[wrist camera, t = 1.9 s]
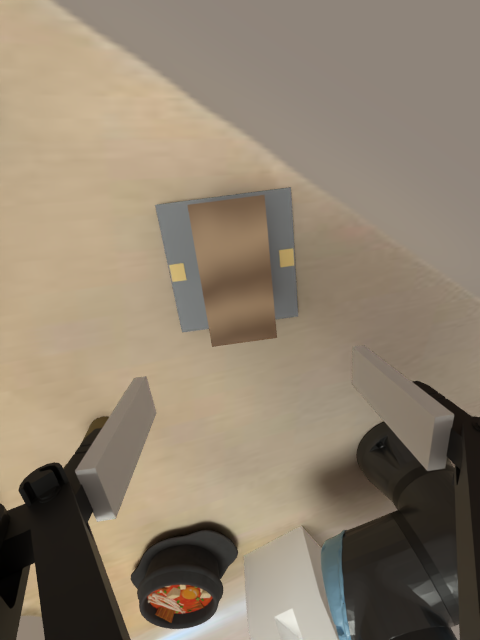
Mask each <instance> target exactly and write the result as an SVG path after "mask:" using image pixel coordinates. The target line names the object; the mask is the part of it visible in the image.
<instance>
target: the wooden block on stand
mask: <svg viewBox="0 0 480 640" xmlns="http://www.w3.org/2000/svg"><path fill="white" fill-rule="evenodd" d="M187 206H188V212H189V217H190V223H191V229H192V234H193V240H194V246H195V251H196V257H197V263H198V269H199V274H200V280H201V286H202V291H203V297H204V303H205V309H206V314H207V320H208V326H209V331H210V337H211V343H212V347H214V346H221V345H228V344H235V343H243V342H250V341H257V340H264V339H271V338H277V333H276V322H275V310H274V298H273V287H272V275H271V264H270V252H269V241H268V229H267V218H266V206H265V195H259V196H251V197H244V198H236V199H228V200H221V201H213V202H205V203H198V204H190V205H187Z"/></svg>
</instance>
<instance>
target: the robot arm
mask: <svg viewBox="0 0 480 640" xmlns="http://www.w3.org/2000/svg"><path fill="white" fill-rule="evenodd" d="M352 385H353V386H354V387H355V388H356V390H357V391H358V392H359V393H360V394H361V395H362V396H363V398H364V399H365V400H366V401H367V402H368V403H369V405H370V406H371V407H372V408H373V409H374V410H375V411H376V413H377V414H378V415H379V416H380V417H381V418H382V419H383V421H384V422H383V423H381V424H379V425H378V426H376V427H374V428H373V429H372V430H371V431H369V432H368V433H367V434H366V435H365V437H364V438H363V439H362V441H361V443H360V445H359V447H358V450H357V461H358V464H359V466H360V468H361V470H362V471H363V473H364V475H365V476H366V477H367V479H368V480H369V481H370V482H371V483H373V484H374V485H375V486H376V487H377V488H378V489H379V490H380V491H381V492H382V493H383V494H384V495H386V496H387V497H388V498H389V499H390V500H391V501H392V502H393V503H394V505H395V506H396V508H397V511H395V512H392V513H389V514H387V515H385V516H382V517H380V518H377V519H375V520H372V521H370V522H368V523H365V524H363V525H360V526H357V527H355V528H352V529H350V530H343V531H342V532H341V533H340V534H338V535H337V536H335V537H333V538H330V539H328V540H327V541H325V543H324V544H323V546H322V549H321V570H322V577H323V582H324V587H325V592H326V596H327V601H328V605H329V609H330V612H331V616H332V619H333V622H334V624H335V625H336V630H337V633H338V637H339V640H457V638H456V637H455V635H454V633H453V631H452V630H451V627H453V626H455V625H458V624H459V628H460V640H480V417H472V416H470V415H469V414H467V413H466V412H465V411H463V410H462V409H460V408H459V407H458V406H456V405H455V404H454V403H452V402H451V401H449V400H448V399H445V397H444V396H443V395H441V394H440V393H439V394H438V392H437V391H436V390H434V389H433V388H431V387H430V386H428V385H426V384H424V383H421V382H419V381H413V382H412V381H410V380H409V379H408V378H406V377H405V376H404V375H402V374H401V373H400V372H399V371H397V370H396V369H395V368H393V367H392V366H391V365H389V364H388V363H387V362H386V361H384V360H383V359H382V358H380V357H379V356H378V355H376V354H375V353H374V352H373V351H371V350H370V349H369V348H367V347H366V346H365V345H361V346H355V347H352ZM155 415H156V409H155V406H154V402H153V399H152V395H151V391H150V388H149V384H148V381H147V377H146V376H145V377H138V378H134V379H133V381H132V382H131V384H130V385H129V387H128V388H127V390H126V392H125V393H124V395H123V396H122V398H121V399H120V401H119V403H118V404H117V406H116V407H115V409H114V410H113V412H112V414H111V415H110V417H109V418H108V420H107V421H106V423H105V425H104V426H103V428H97V429H94V430H93V431H92V432H91V433H90V434H89V435H88V436H86V438H85V439H84V440H83V442H82V443H81V445H80V447H79V448H78V449H77V451H76V452H75V455H73V456H72V458H71V459H70V461H69V462H68V464H67V465H66V467H65V468H64V469H63V467H62V466H61V465H60V464H59V463H50V464H46V465H44V466H42V467H40V468H38V469H36V470H35V471H33V472H32V473H30V474H29V475H28V476H27V477H26V478H25V479H24V480H23V482H22V483H21V485H20V487H19V493H20V494H21V496H22V498H23V500H24V502H25V503H26V504H23V505H21V506H18V507H16V508H13V509H11V510H8V511H7V510H6V509H5V507H4V506H3V505H2V504H0V640H16V637H17V631H18V626H19V620H20V616H21V611H22V606H23V601H24V595H25V590H26V585H27V580H28V575H29V570H30V565H31V564H33V563H35V567H36V574H37V582H38V590H39V597H40V605H41V612H42V620H43V628H44V635H45V640H131V639H130V637H129V634H128V631H127V628H126V626H125V623H124V620H123V617H122V614H121V612H120V609H119V606H118V603H117V601H116V598H115V595H114V592H113V590H112V587H111V584H110V581H109V579H108V576H107V573H106V570H105V567H104V565H103V562H102V559H101V556H100V554H99V551H98V548H97V545H96V543H95V540H94V537H93V534H92V531H91V529H90V526H89V524H88V520H89V518H90V516H91V514H92V512H93V513H94V516H95V518H96V520H97V521H104V520H110V519H116V517H117V514H118V511H119V509H120V506H121V504H122V501H123V498H124V496H125V493H126V491H127V488H128V485H129V483H130V480H131V478H132V475H133V472H134V470H135V467H136V465H137V462H138V459H139V457H140V454H141V452H142V449H143V446H144V444H145V441H146V439H147V436H148V433H149V431H150V428H151V426H152V423H153V420H154V418H155ZM448 458H449V459H450V460H451V461H452V462H453V463H454V464H455V468H454V467H453V466H452V464H451V462H450V460H449V459H448Z"/></svg>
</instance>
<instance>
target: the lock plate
mask: <svg viewBox="0 0 480 640" xmlns="http://www.w3.org/2000/svg"><path fill="white" fill-rule="evenodd" d="M259 195H265V206H266V218H267V229H268V241H269V252H270V264H271V275H272V287H273V298H274V310H275V319H282V318H289V317H297V316H298V304H297V286H296V269H295V251H294V233H293V216H292V198H291V187H289V188H282V189H274V190H266V191H259V192H251V193H243V194H236V195H228V196H220V197H212V198H205V199H197V200H189V201H182V202H174V203H166V204H159V205H155V207H156V211H157V216H158V221H159V225H160V230H161V235H162V240H163V244H164V249H165V254H166V258H167V263H168V268H169V273H170V277H171V282H172V287H173V291H174V296H175V301H176V306H177V310H178V315H179V320H180V325H181V329H182V332H188V331H196V330H203V329H209V326H208V320H207V314H206V309H205V303H204V297H203V291H202V286H201V280H200V274H199V269H198V263H197V257H196V251H195V246H194V240H193V234H192V229H191V223H190V217H189V212H188V206H187V205H190V204H198V203H205V202H213V201H221V200H228V199H236V198H244V197H251V196H259Z"/></svg>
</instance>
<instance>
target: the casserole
mask: <svg viewBox="0 0 480 640" xmlns="http://www.w3.org/2000/svg"><path fill="white" fill-rule="evenodd" d="M237 555H238V551H237V548H236V546H235V544H234V543H233V542H232V541H231V540H230V539H229V538H227V537H226V536H224V535H223V534H220V533H218V532H215V531H211V530H201V531H197V532H194V533H191V534H188V535H185V536H179V537H173V538H168V539H166V540H163V541H160V542H158V543H156V544H154V545H153V546H152V547H150V548H149V549H148V550H147V551H146V552H145V553H144V555H143V557H142V559H141V561H140V563H139V566H138V567H137V568H136V569H135V571H134V572H133V573H132V574H131V581H132V583H133V584H134V585H135V587H136V588H137V589H138V591H137V595H138V599H139V607H140V612H141V614H142V616H143V617H144V618H145V619H146V620H147V621H149V622H150V623H152V624H154V625H156V626H160V627H163V628H170V629H183V628H189V627H194V626H197V625H199V624H202V623H204V622H205V621H207V620H208V619H210V618H211V617H212V616H213V615H214V613H215V612H216V610H217V607H218V603H219V601H220V599H221V598H222V595H223V585H222V582H221V581H220V579H221V578H222V576H223V574H224V573H225V571H226V569H227V568H228V566H229V565H230V564H232V563H233V562H234V560H235V559H236V558H237Z"/></svg>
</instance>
